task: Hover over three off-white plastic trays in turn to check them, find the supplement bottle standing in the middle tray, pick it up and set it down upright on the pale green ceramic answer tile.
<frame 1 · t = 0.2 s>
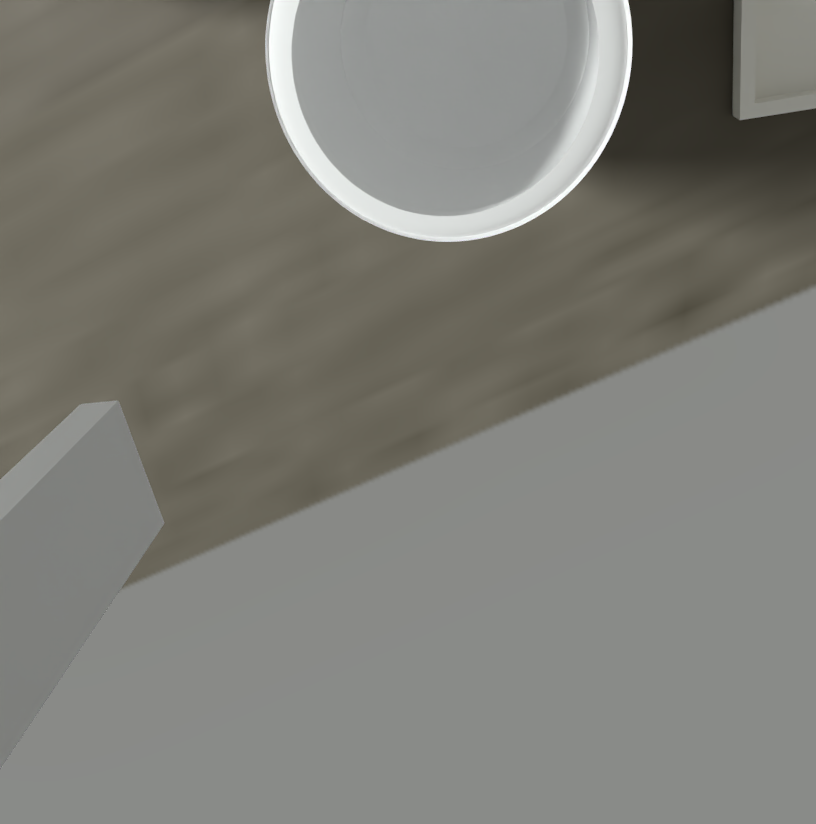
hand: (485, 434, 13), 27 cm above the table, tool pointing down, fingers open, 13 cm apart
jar: (470, 37, 35), on the table
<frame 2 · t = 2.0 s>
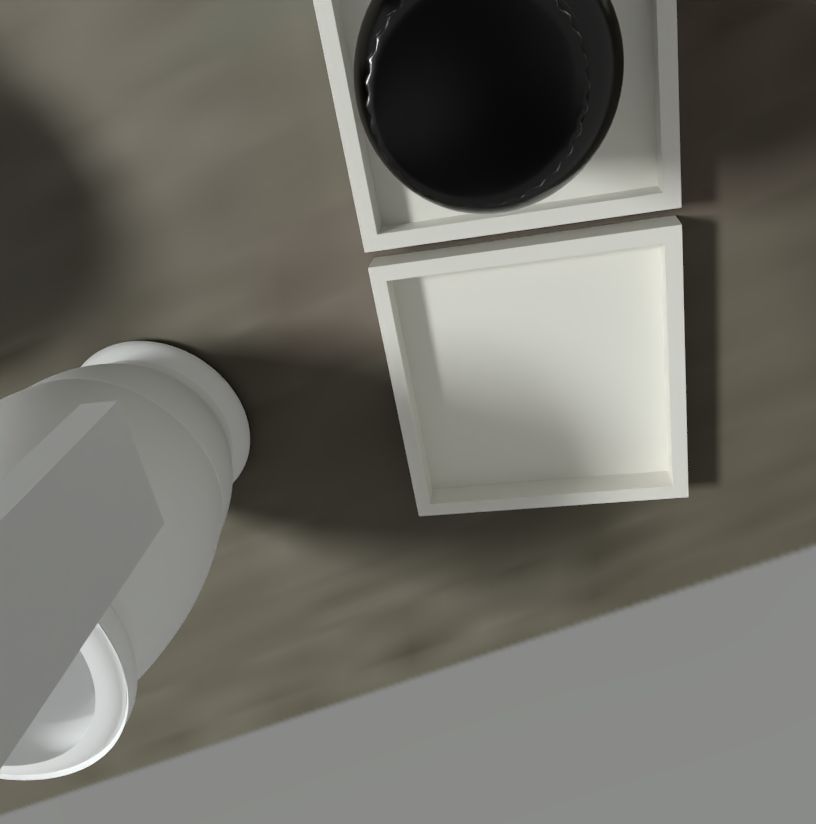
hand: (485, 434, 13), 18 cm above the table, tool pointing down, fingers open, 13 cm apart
supplement bottle: (498, 58, 27), resting on tray middle
tray 1: (534, 372, 32), on the table
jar: (164, 419, 36), on the table
tray middle: (498, 58, 27), on the table
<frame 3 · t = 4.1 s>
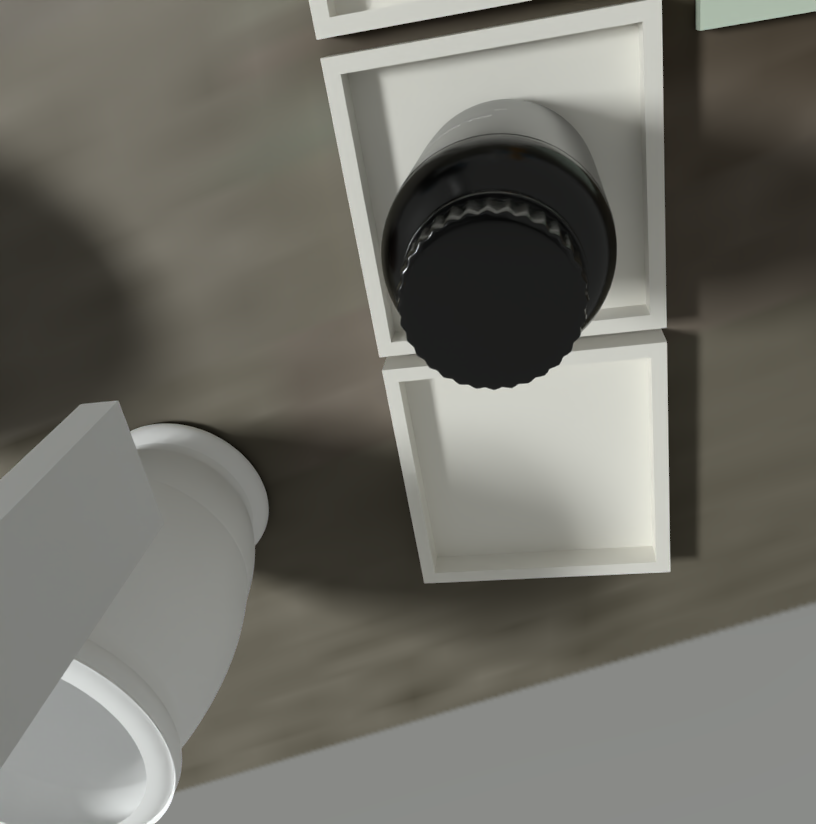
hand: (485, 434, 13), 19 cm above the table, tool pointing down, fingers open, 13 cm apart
supplement bottle: (503, 191, 30), resting on tray middle
tray 1: (532, 458, 35), on the table
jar: (188, 490, 39), on the table
tray middle: (503, 191, 30), on the table
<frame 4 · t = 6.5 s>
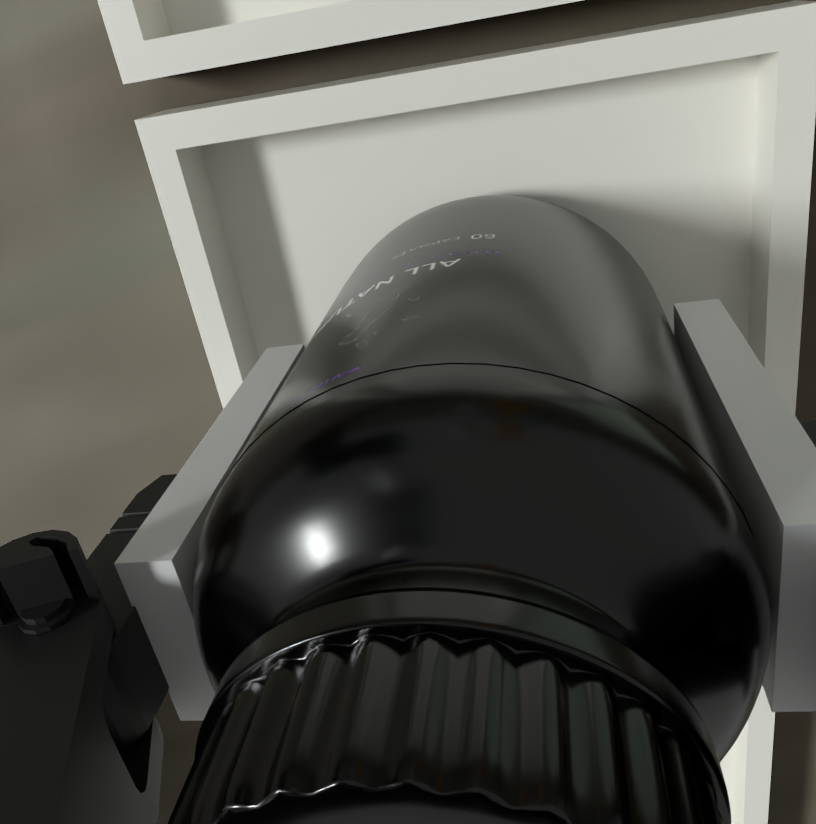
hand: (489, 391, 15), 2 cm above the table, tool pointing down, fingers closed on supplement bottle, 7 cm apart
supplement bottle: (492, 348, 17), resting on tray middle, touching gripper
tray 1: (541, 736, 22), on the table
tray middle: (492, 348, 17), on the table
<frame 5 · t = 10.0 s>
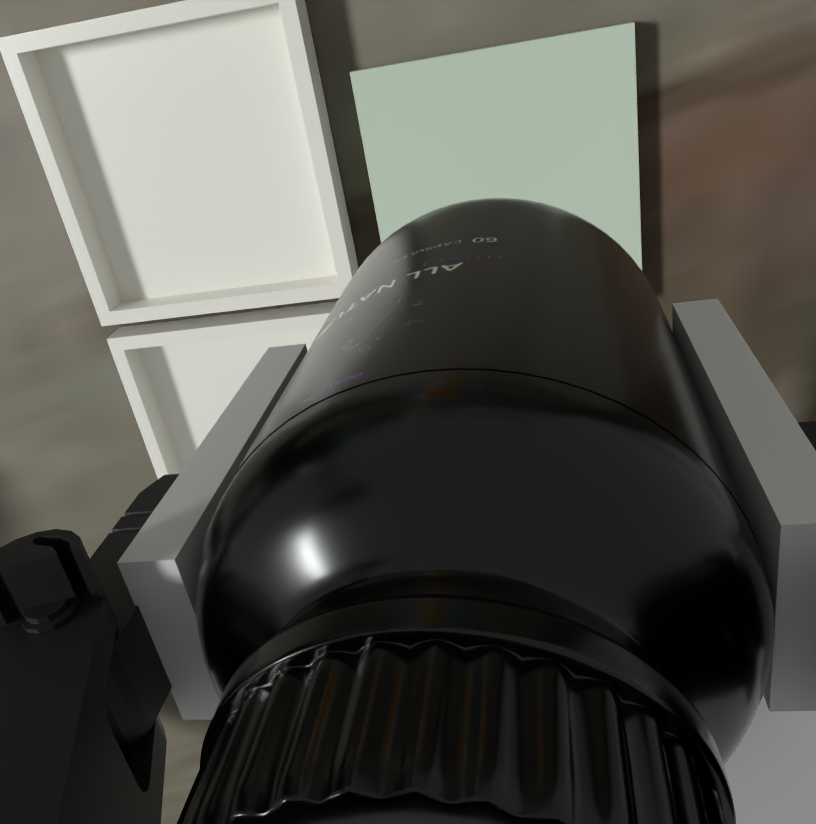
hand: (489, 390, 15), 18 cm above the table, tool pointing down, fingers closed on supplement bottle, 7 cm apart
supplement bottle: (493, 350, 17), point 16 cm above the table, touching gripper
answer tile: (503, 186, 30), on the table
tray 2: (197, 166, 31), on the table
tray middle: (270, 425, 37), on the table
when the fingers open (4 cm above the table, at t = 13.1 s): supplement bottle drops 1 cm, resting on answer tile.
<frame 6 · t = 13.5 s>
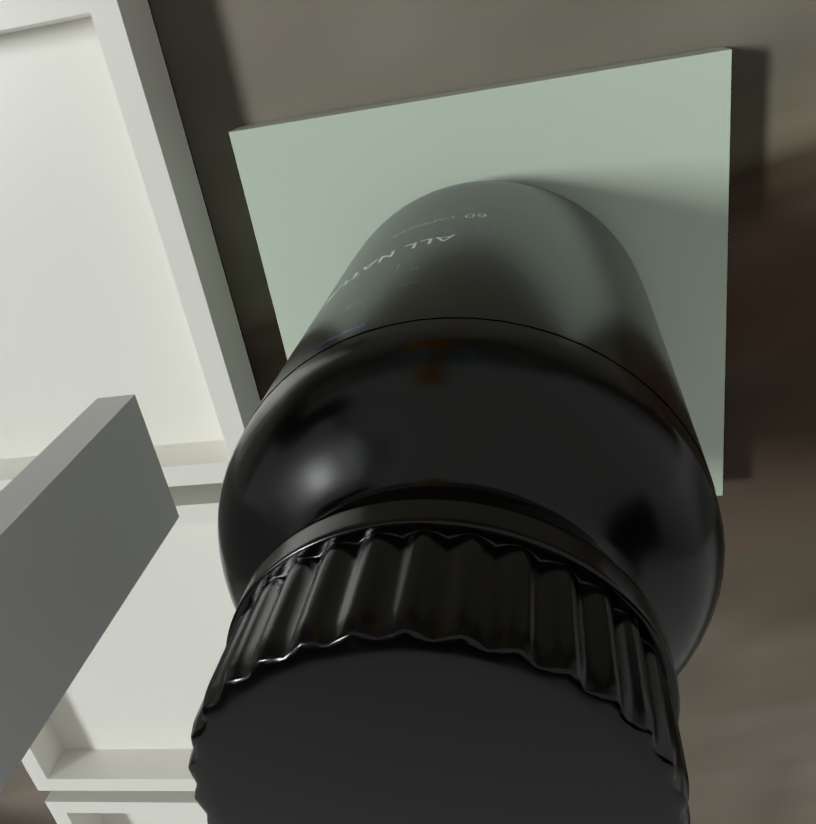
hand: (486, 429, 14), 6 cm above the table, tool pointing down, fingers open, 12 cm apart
supplement bottle: (487, 324, 18), point 1 cm above the table, touching answer tile
answer tile: (494, 314, 18), on the table
tray 2: (4, 274, 19), on the table
tray middle: (153, 634, 25), on the table
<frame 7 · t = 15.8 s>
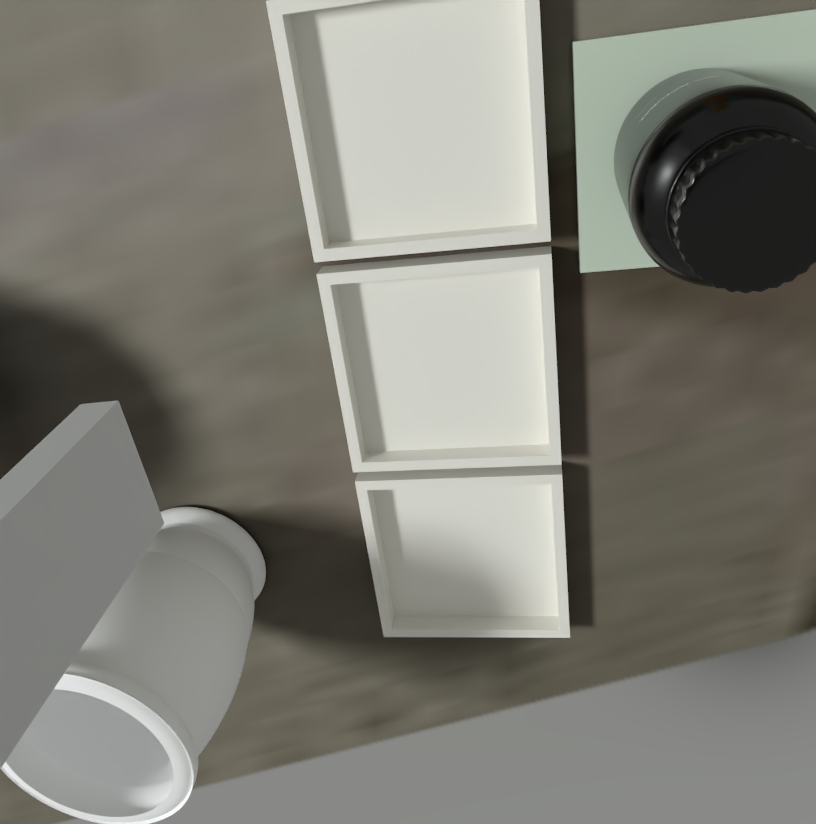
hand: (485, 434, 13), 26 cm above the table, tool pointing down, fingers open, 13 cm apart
supplement bottle: (689, 151, 34), point 1 cm above the table, touching answer tile
answer tile: (690, 149, 35), on the table
tray 2: (418, 122, 36), on the table
tray 1: (467, 547, 46), on the table
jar: (204, 556, 50), on the table
tray middle: (446, 362, 41), on the table
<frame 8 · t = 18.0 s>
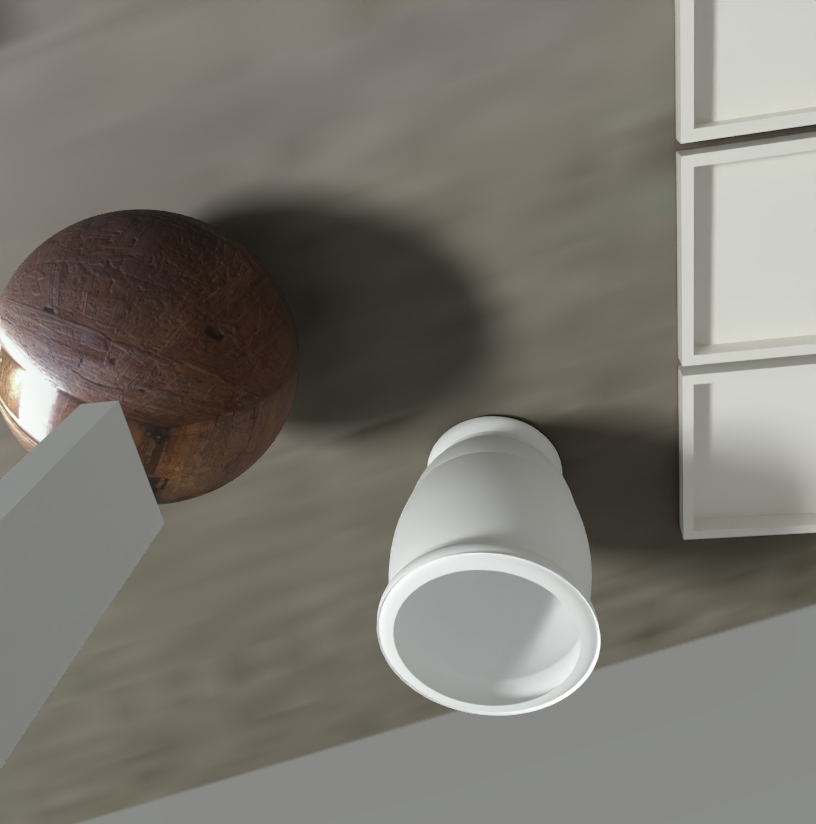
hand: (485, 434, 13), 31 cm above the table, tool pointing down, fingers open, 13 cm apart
wooden sphere: (205, 306, 47), on the table
tray 1: (778, 442, 46), on the table
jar: (494, 468, 50), on the table
tray middle: (790, 246, 41), on the table
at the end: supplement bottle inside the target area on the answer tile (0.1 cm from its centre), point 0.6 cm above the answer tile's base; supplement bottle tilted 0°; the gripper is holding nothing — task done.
